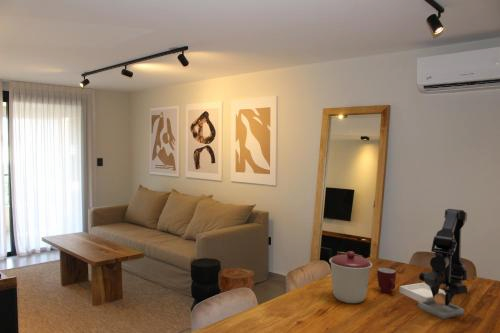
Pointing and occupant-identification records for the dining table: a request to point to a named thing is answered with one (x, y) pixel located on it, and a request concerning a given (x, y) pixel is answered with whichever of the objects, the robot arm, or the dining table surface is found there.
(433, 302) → the tray
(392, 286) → the mug
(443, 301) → the ball
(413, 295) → the dish
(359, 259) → the canister
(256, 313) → the dining table surface
